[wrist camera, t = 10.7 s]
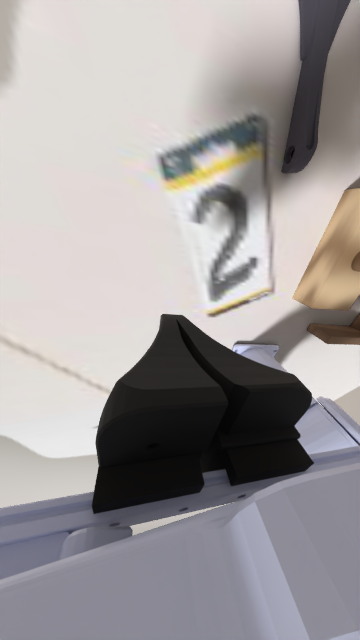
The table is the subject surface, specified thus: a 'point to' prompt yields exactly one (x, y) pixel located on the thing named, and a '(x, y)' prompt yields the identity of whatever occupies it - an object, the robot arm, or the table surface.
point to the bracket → (311, 77)
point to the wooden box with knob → (335, 260)
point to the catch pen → (337, 333)
